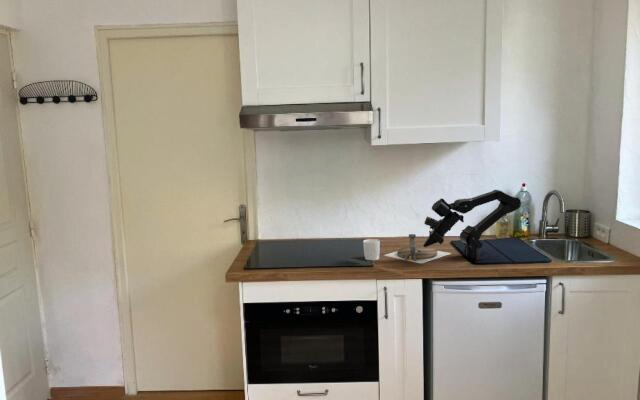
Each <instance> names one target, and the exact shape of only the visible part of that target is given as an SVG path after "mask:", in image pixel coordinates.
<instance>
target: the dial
mask: <svg viewBox="0 0 640 400" xmlns="http://www.w3.org/2000/svg"><path fill="white" fill-rule="evenodd" d="M408 237H409V246H406V247H403V248H400V249H398V250H397V254H398V256H400V257H403V258H405V255H408V259H409V256H411V258H412V259H413V256H414V255H416V259H427V258H432V257H435V256H437V251H438V250H437V249H435V248H433V247H429V246H427V247H424V246H416V239H415V238H416V234H415V233H411V234H410V233H409V234H408Z"/></svg>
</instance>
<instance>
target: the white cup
mask: <svg viewBox="0 0 640 400" xmlns="http://www.w3.org/2000/svg"><path fill="white" fill-rule="evenodd" d="M362 243H363V245H362V246H363V255H364V260H365V261H376V260H379V259H380V250H381V249H380V247H381V246H380V244H381V242H380V239H376V238H368V239H364V240H362Z"/></svg>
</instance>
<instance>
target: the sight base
mask: <svg viewBox="0 0 640 400" xmlns="http://www.w3.org/2000/svg"><path fill="white" fill-rule="evenodd" d="M397 251H398V250H397ZM397 251H393V252H390V253H387V254H384V255H383V256H385V257H389V258H393V259H394V258H395V259H398V260H402V261H403V260H404V261H407V262H412V263H417V264H420V265H421V264H425V263H427V262H429V261H432V260H436V259H439V258H442V257H445V256H448V255H451V254H452V253H451V252H447V251H442V250H437V256H435V257H432V258H427V259H416V255H414V256H413V259H412V258H411V256H409V259H408V255H405V258H403V257H400V256H398V254H397Z"/></svg>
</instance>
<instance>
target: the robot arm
mask: <svg viewBox="0 0 640 400" xmlns="http://www.w3.org/2000/svg"><path fill="white" fill-rule="evenodd" d="M493 201H498V202H499V204H498V207H496V208H494V210H493V211H491V212H490V213H489V214H488V215H487V216H485V217H484V218H483V219H481V220H480V221H479V222H478V223H477V224H476V225H474V226H471V225H467V226H466V227H465V228H463V229H462V230H461V232H460V234H459V240H460V241H461V242H462V244H463V245H464V249H463V256H464V257H465V258H468V259H469V260H468V261H469V262H473V261H475V262H478V261H480V260H483V258H482V257H481V249H482V248H483V245H484V244H483V243H482V242H481V241H480V239H481V238H482V235H483V233H485V232H486V231H487V230H488V229H489V228H491V227H492V226H494V224H496V223H497V222H498V221H499V220H500V219H501V218H503V217H504V216H506V215H507V214H511V213H514V212H515V211H517V210H519V209H520V208H521V206H522V205H521V204H522V203H521V199H520V198H519V197H516V196H512V195H509V194H508V193H506V192H504V191H503V190H499V189H494V190H492V191H489V192H486V193H483V194H479V195H477V196H473V197H470V198H458V199H456V200H454V201H453V202H450V203H448V202H447V201H446V200H445V199H444V198H443V197H442V198H440V199H439V200H437V201H435V202H434V203H433V204H432V207H431V210H432V211H433V212H434V213H436V214H437V215H438V216H439V217H441V218H440V219H439V220H438V219H435V218H433V217H430V216H428V215H427V216H426V218H425V221H424V225H426V226H429V230H428V231H429V233H428V234H429V236H428V237H427V239H426V240H425V242H424V244H423V245H422V247H429V246H432V245H435V244H438V243H439V245H442V244H443V243H444V242H445V241H444V240H445V238H444V237H445V235H446V234H447V233H448V231H449V232H450V231H451V230H452V228H453V227H454V226H455V225H456V224H457V223H458V222H459V221H460V222H461V223H464V222H465V221H464V215H465V214H467V213H469V212H471V211H472V210H473V209H475V208H476V207H480V206H481V205H485V204H487V203H491V202H493ZM477 260H478V261H477Z"/></svg>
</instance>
